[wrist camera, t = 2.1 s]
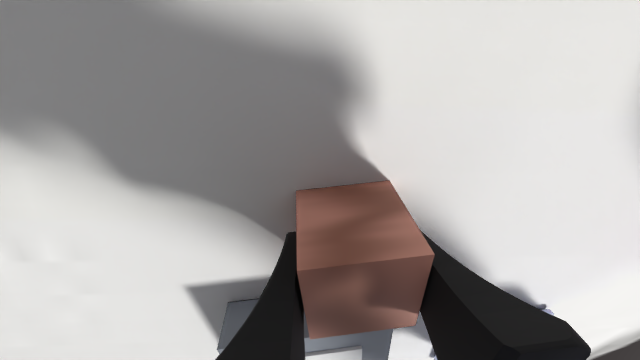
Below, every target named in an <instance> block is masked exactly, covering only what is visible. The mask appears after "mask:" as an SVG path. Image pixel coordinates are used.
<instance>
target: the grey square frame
mask: <svg viewBox="0 0 640 360" xmlns="http://www.w3.org/2000/svg"><path fill="white" fill-rule="evenodd" d="M258 300H259V299H254V300H246V301H238V302H230V303H228V306H227V310H226V314H225V318H224V322H223V327H222V331H221V335H220V339H219V343H218V347H217V350H218V352H219V354H221V352H222V351H223V350H224V349H225V347H226V346H227V345H228V344H229V342H230V341H231V340H232V338H233V337H234V336H235V334H236V333H237V332H238V330H239V329H240V327H241V326H242V325H243V323H244V322H245V320H246V319H247V317H248V316H249V314H250V313H251V311H252V310H253V308H254V307H255V305H256V303H257V302H258ZM392 333H393V329H387V330H379V331H371V332H364V333H356V334H348V335H341V336H333V337H326V338H318V339H310V337H309V332H308V326H307V321H306V316H305V311H304V342H305V360H388V355H389V349H390V344H391V338H392Z"/></svg>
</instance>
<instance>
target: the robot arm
mask: <svg viewBox="0 0 640 360" xmlns="http://www.w3.org/2000/svg"><path fill="white" fill-rule="evenodd" d="M421 233H422V234H423V236H424V238H425V239H426V241H427V243H428V244H429V246H430V247H431V249H432V251H433V252H434V254H435V255H434V259H433V262H432V266H431V270H430V274H429V277H428V281H427V285H426V288H425V292H424V296H423V299H422V303H421V307H420V312H421V315H422V317H423V320H424V323H425V325H426V328H427V331H428V334H429V337H430V340H431V342H432V345H433V348H434V351H435V354H436V355H435V358H434V360H586V359H587V358H588V357H589V356H590V353H591V349H590V347H589V346H588V344H587V343H586V342H585V341H584V340H583V339H582V338H581V337H580V336H579V335H578V334H577V332H576V331H575V330H574V329H573V328H572V327H571V326H570V325H569V324H568V323H567V322H566V321H564V320H562V319H559V318H557V317H555V316H553V315H554V313H553V312H552V311H551V310H549V309H545V310H540V309H538V308H535V307H533V306H531V305H529V304H527V303H526V302H524V301H522V300H520V299H518V298H516V297H514V296H512V295H510V294H508V293H507V292H505V291H503V290H501V289H500V288H498V287H496V286H494V285H493V284H491V283H489V282H488V281H486V280H484V279H483V278H481V277H480V276H478V275H477V274H475V273H474V272H472V271H471V270H469V269H468V268H466V267H465V266H463V265H462V264H460V263H459V262H458V261H456V260H455V259H454V258H452V257H451V256H450V255H449V254H447V253H446V252H445V251H444V250H442V249H441V248H440V247H439V246H438V245H436V244H435V243H434V242H433V241H432V240H431V239H429V238H428V237H427V236H426V235H425V234H424V233H423V232H422V231H421ZM216 360H305V342H304V306H303V300H302V295H301V290H300V285H299V280H298V274H297V234H296V232H289V233H288V234H287V235H286V239H285V243H284V246H283V249H282V252H281V255H280V257H279V259H278V262H277V264H276V267H275V269H274V271H273V273H272V275H271V277H270V280H269V282H268V284H267V286H266V287H265V289H264V291H263V293H262V295H261V297H260V298H259V300H258V302H257V303H256V305H255V307H254V308H253V310H252V311H251V313H250V314H249V316H248V317H247V319H246V320H245V322H244V323H243V325H242V326H241V327H240V329H239V330H238V332H237V333H236V334H235V336H234V337H233V338H232V340H231V341H230V342H229V344H228V345H227V346H226V347H225V349H224V350H223V351H222V352H221V354H220V355H219V356H218V357H217V358H216Z"/></svg>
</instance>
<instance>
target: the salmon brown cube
mask: <svg viewBox="0 0 640 360" xmlns="http://www.w3.org/2000/svg"><path fill="white" fill-rule="evenodd" d="M296 234H297V274H298V280H299V285H300V290H301V295H302V300H303V306H304V311H305V316H306V321H307V326H308V332H309V337H310V339H318V338H326V337H333V336H341V335H348V334H356V333H364V332H371V331H379V330H387V329H394V328H402V327H409V326H415V325H416V321H417V318H418V314H419V310H420V307H421V303H422V299H423V296H424V292H425V288H426V285H427V281H428V277H429V274H430V270H431V266H432V262H433V259H434V255H435V254H434V252H433V251H432V249H431V247H430V246H429V244H428V243H427V241H426V239H425V238H424V236H423V234H422V233H421V231H420V230H419V228H418V226H417V225H416V223H415V221H414V220H413V218H412V216H411V215H410V213H409V212H408V210H407V208H406V207H405V205H404V203H403V202H402V200H401V199H400V197H399V195H398V194H397V192H396V190H395V189H394V187H393V185H392V184H391V182H390V181H380V182H371V183H362V184H353V185H343V186H334V187H325V188H316V189H307V190H298V191H296Z"/></svg>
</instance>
